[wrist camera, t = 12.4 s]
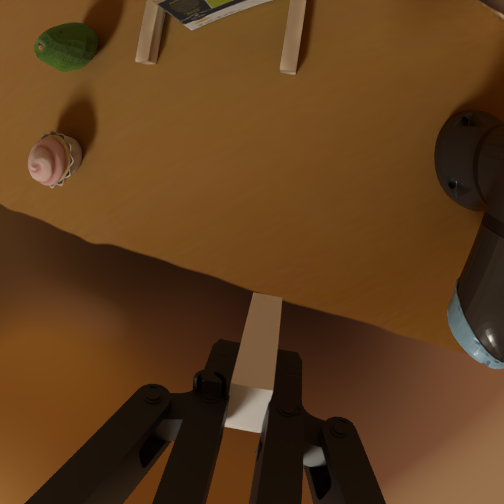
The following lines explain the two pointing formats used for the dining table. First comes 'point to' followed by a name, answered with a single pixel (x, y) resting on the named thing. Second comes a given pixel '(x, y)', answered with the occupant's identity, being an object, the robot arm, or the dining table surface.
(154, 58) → the chute
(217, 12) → the tea box
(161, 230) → the dining table surface
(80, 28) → the avocado
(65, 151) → the cupcake
